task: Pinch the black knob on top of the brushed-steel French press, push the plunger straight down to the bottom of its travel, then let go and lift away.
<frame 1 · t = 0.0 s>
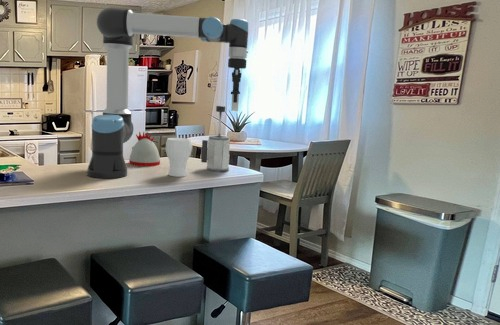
hand: (234, 109, 187), 28 cm above the countertop, fingers open, 13 cm apart
grey and red dome: (144, 164, 205), on the countertop
cup: (177, 175, 185), on the countertop
carafe: (217, 169, 202), on the countertop
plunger: (219, 127, 199), point 19 cm above the countertop, slide at 0.0 cm
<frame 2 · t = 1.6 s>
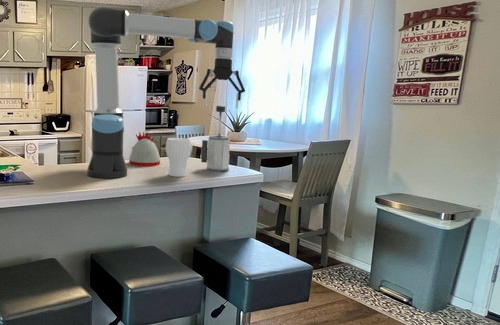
hand: (221, 107, 197), 28 cm above the countertop, fingers open, 13 cm apart
nothing on the countertop moved.
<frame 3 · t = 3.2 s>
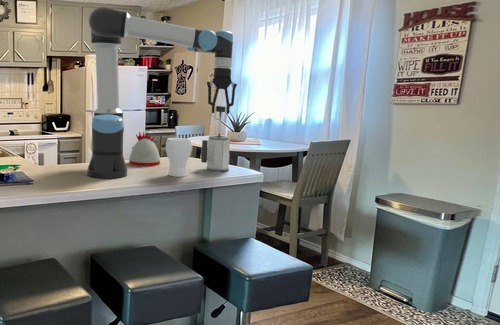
hand: (220, 121, 198), 22 cm above the countertop, fingers closed on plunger, 4 cm apart
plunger: (219, 127, 199), point 19 cm above the countertop, slide at 0.0 cm, touching gripper
everything else where it was.
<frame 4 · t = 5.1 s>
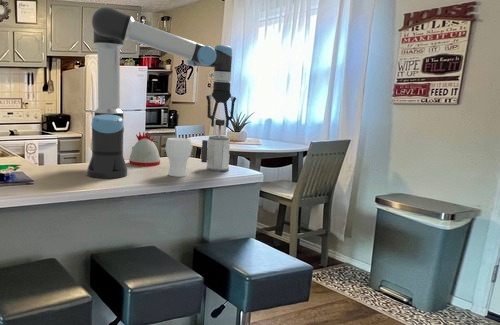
hand: (219, 134, 199), 16 cm above the countertop, fingers closed on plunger, 4 cm apart
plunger: (219, 140, 200), point 13 cm above the countertop, slide at 6.0 cm, touching gripper
everything else where it was.
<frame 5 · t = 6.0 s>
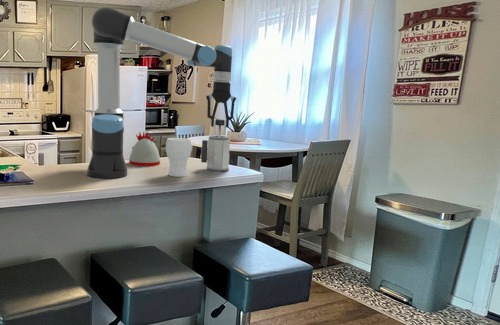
hand: (219, 134, 199), 16 cm above the countertop, fingers closed on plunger, 4 cm apart
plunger: (219, 140, 200), point 13 cm above the countertop, slide at 6.0 cm, touching gripper
everything else where it was.
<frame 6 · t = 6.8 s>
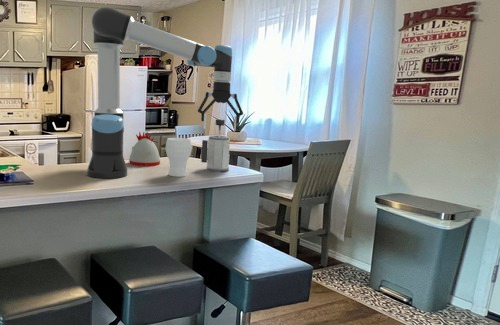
hand: (219, 129, 199), 18 cm above the countertop, fingers open, 13 cm apart
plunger: (219, 140, 200), point 13 cm above the countertop, slide at 6.0 cm
everything else where it was.
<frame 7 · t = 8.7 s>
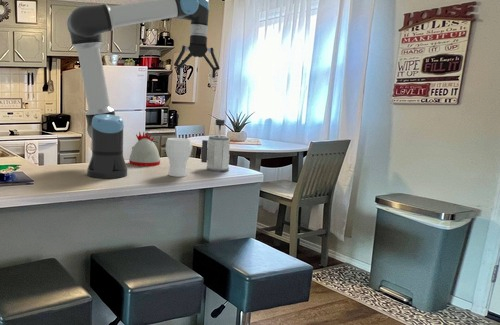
hand: (196, 84, 199), 38 cm above the countertop, fingers open, 13 cm apart
nothing on the countertop moved.
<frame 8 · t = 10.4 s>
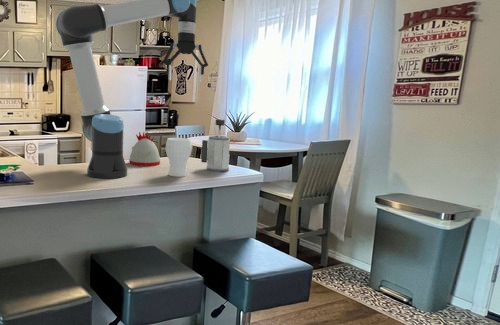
hand: (184, 81, 201), 39 cm above the countertop, fingers open, 13 cm apart
nothing on the countertop moved.
at the end: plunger slide at 6.0 cm; the gripper is holding nothing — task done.
